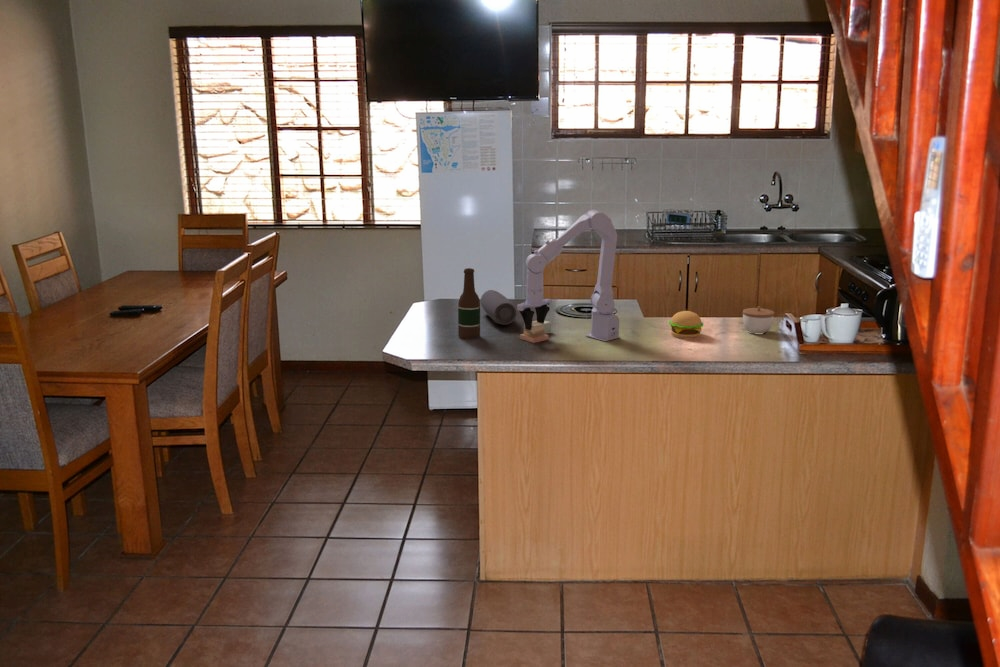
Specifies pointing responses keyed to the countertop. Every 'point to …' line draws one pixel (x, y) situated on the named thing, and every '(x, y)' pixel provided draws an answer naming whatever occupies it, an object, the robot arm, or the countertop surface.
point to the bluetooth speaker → (498, 307)
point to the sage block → (547, 327)
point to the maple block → (535, 329)
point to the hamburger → (686, 325)
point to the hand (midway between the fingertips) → (534, 328)
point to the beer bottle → (469, 308)
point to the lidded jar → (757, 319)
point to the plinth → (534, 338)
